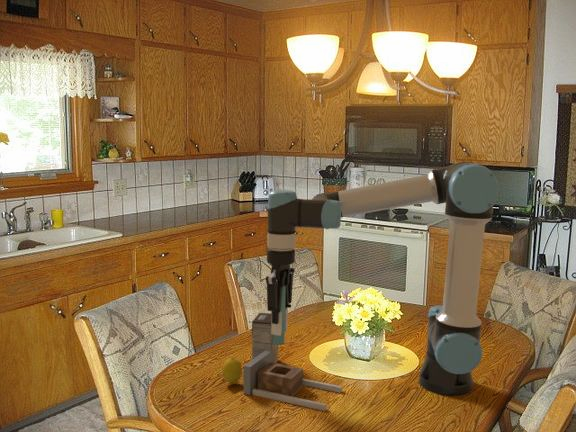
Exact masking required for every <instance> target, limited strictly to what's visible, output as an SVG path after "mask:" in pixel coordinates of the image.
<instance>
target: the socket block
mask: <svg viewBox="0 0 576 432" xmlns="http://www.w3.org/2000/svg"><path fill="white" fill-rule="evenodd" d="M303 379H304V368H301V367H296V366H291V365H286V364H282V363H278V362H277V363H272V362H271V363H269V364H268V365H267V366H265V367H264V368H263V369H261V370H260V371H259V372H258V389H260V390H264V391H269V392H273V393H278V394H283V395H287V396H292V397H295V395H296V394H297V393H299V392H300V390H301V389H302V388H303V387H304V385H303Z"/></svg>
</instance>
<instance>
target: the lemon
mask: <svg viewBox="0 0 576 432" xmlns="http://www.w3.org/2000/svg"><path fill="white" fill-rule="evenodd" d="M221 372H222V376H223V379H224V380H225V381H226V382H227V383H229V384H230V385H234V384H235V383H237V382H238V381H239V380H240V379H241V377H242V373H243V368H242V364H241V362H240V361H239V360H238V359H237V358H234V356H233V357H230V358H228V359H227V360H225V362H224V363H223V366H222V371H221Z"/></svg>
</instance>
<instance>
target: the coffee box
mask: <svg viewBox="0 0 576 432" xmlns="http://www.w3.org/2000/svg"><path fill="white" fill-rule="evenodd" d="M271 323H272V312H271V313H269V312H259V313H258V314H257V315H256V316H255V318H254V319H253V320H252V321H251V360H253V359H254V358H255V357H257V356H258V355H260V354H261V353H262V352H264V351H265V350H266V349H269V350H273V363H277V364H278V362H279V345H276V344H274V343H273V340H274V335H273V334H271Z"/></svg>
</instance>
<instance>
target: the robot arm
mask: <svg viewBox="0 0 576 432" xmlns="http://www.w3.org/2000/svg"><path fill="white" fill-rule="evenodd" d="M499 187H500V186H499V182H498V179H497V177H496V176H495V173H493V172H492V171H491V169H489V168H488V167H487V166H484V165H482V164H480V163H479V164H478V163H474V162H471V161H461V162H457V163H454V164H451V165H448V166H444V167H443V166H442V167H440V168H435V169H430V170H429V172H428V173H427V174H424V175H419V176H414V177H412V176H411V177H407V178H402V179H396V180H391V181H386V182H380V183H375V184H370V185H365V186H364V185H363V186H361V187H353V188H350V189H343V190H339V191H333V192H321V193H318V194H315V195H314V196H313V197H312V198H311V199H309V198H308V199H303V198H298V196H297V192H296V191H294V190H288V189H287V190H286V189H280V190H279V189H278V190H276V189H275V190H272V191H270V192H269V194H268V201H267V202H268V203H267V234H266V238H267V242H266V243H267V245H266V246H267V249H266V262H267V263H268V264H270V265H271V268H270V269H271V270H270V276H268V275H266V277H265V283H266V297H267V299H266V302H267V303H266V306H267V312H271V314H272V323H271V334H273V335H279V336H281V333H282V312H281V311H280V309H281V297H282V287H284V286H286V296H285V333H286V332H287V331H288V313H289V311H288V308H290V309H291V308H292V302H293V301H292V299H293V285H294V284H293V282H294V275H295V268H294V267H291V265H293V264H294V263H295V262H296V250H295V249H294V248H296V236H297V235H296V229H297V228H309V229H314V228H315V229H325V230H329V229H334V230H335V229H339V228H340V226H341V222H342V218H345V217H346V218H347V217H352V216H357V215H363V214H368V213H374V212H380V211H386V210H391V209H397V208H402V207H408V206H415V205H419V204H425V203H433V204H436V205H441V204H445V209H444V216H445V217H446V218H447V219H448V220H449V222H450V224H449V231H448V232H449V233H448V243H447V256H446V266H445V275H444V276H445V277H444V279H445V280H444V289H443V297H442V298H443V299H442V305H433V306H432V307H430V308H429V310H428V315H427V318H428V322H427V336H426V337H427V339H426V340H427V341H426V355H425V356H426V357H425V359H424V362H423V364H422V366H421V368H420V371H419V373H418V374H419V375H418V382H419V384H420V386H421V387H422V388H424V389H425V390H427V391H430V392H432V393H436V394H441V395H445V396H446V395H447V396H458V395H465V394H468V393H470V392H471V391H472V390H473V389H474V388H473V387H474V378H473V375H472V371H474V370H475V369H476V368H478V367H479V365H480V363H481V361H482V359H483V347H482V344H481V334H482V320H481V319H480V318H479V316H478V315H477V311H478V309H477V308H478V301H479V300H478V299H479V289H480V278H481V270H482V269H481V268H482V260H483V249H484V238H485V237H484V236H485V229H486V224H488V223H489V222H490V221H491V220H492V219H493V211H494V205H495V203H496V201H497V199H498V197H499V193H500V188H499Z"/></svg>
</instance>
